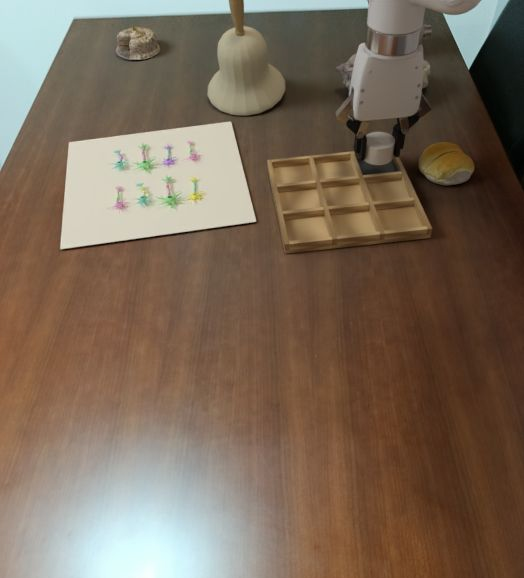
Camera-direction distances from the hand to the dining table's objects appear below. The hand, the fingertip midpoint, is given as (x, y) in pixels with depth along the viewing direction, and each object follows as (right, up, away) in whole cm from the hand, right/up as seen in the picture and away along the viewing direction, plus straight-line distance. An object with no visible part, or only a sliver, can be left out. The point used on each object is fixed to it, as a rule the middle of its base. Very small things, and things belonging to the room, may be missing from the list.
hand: (377, 153), depth 94 cm
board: (-6, -8, -2) cm, 10 cm away
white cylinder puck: (0, 0, 0) cm, 1 cm away
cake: (-46, +35, +35) cm, 68 cm away
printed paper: (-37, -3, +4) cm, 37 cm away
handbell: (-22, +18, +20) cm, 35 cm away
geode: (+5, +17, +18) cm, 25 cm away
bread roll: (+11, -3, +2) cm, 12 cm away
